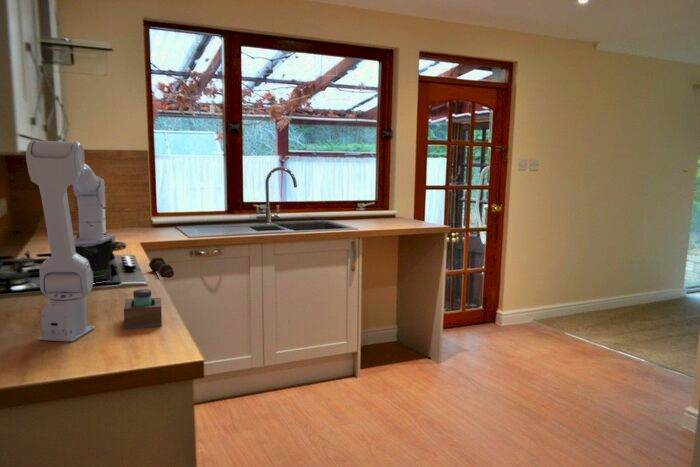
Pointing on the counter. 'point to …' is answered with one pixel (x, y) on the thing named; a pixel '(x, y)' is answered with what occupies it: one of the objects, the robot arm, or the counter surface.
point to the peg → (142, 297)
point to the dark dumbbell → (161, 267)
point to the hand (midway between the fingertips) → (92, 271)
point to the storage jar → (97, 264)
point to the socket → (142, 314)
